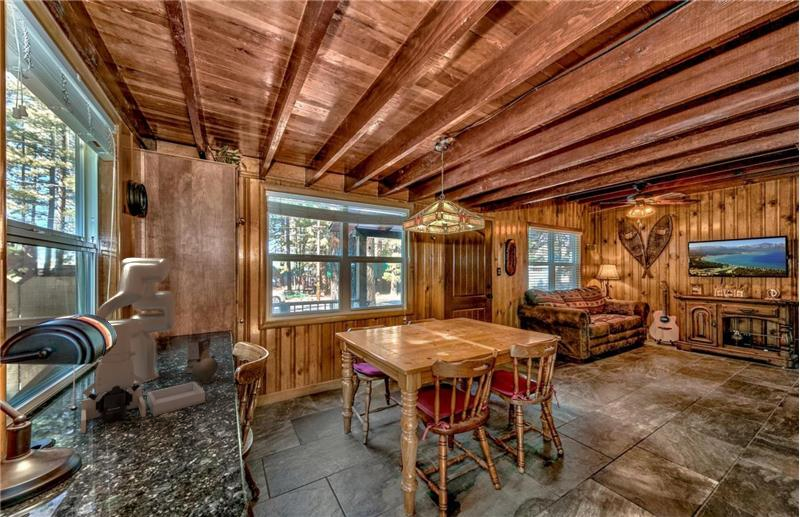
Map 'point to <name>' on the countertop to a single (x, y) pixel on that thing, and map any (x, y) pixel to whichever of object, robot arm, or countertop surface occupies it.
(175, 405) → the tray
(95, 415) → the bay
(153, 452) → the countertop surface
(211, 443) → the countertop surface
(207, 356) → the coffee box
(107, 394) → the black boxy piece
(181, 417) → the countertop surface
